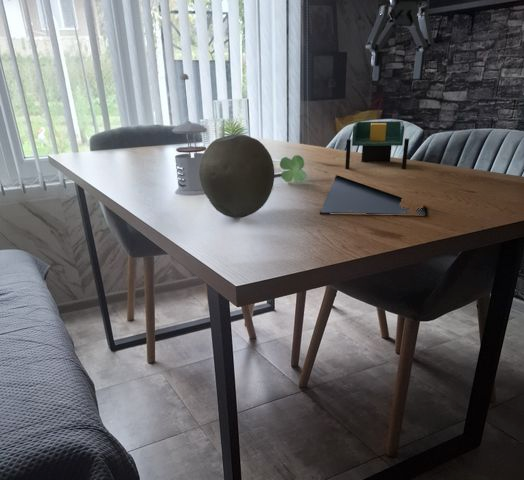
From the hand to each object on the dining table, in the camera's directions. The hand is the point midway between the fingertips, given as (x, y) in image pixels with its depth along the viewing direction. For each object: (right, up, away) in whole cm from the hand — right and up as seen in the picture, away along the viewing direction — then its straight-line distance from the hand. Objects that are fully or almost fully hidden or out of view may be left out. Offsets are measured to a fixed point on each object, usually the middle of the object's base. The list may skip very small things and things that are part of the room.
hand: (397, 79), depth 131 cm
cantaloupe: (-41, -48, -37) cm, 73 cm away
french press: (-53, -34, -12) cm, 64 cm away
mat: (-11, -38, -21) cm, 44 cm away
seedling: (-28, -29, -4) cm, 40 cm away
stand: (-5, -24, +3) cm, 25 cm away
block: (-5, -16, 0) cm, 17 cm away
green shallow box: (-5, -15, +3) cm, 16 cm away
